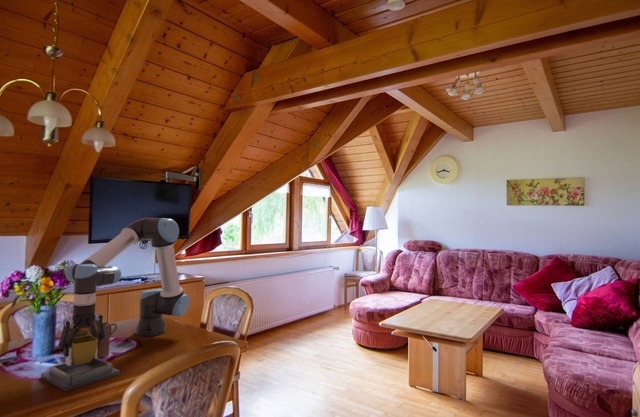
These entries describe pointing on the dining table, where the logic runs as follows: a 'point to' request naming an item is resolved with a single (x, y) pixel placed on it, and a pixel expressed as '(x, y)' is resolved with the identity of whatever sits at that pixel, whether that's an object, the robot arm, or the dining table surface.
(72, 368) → the collar stand
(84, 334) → the cup
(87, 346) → the flower pot
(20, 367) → the dining table surface
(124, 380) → the dining table surface
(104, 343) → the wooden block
